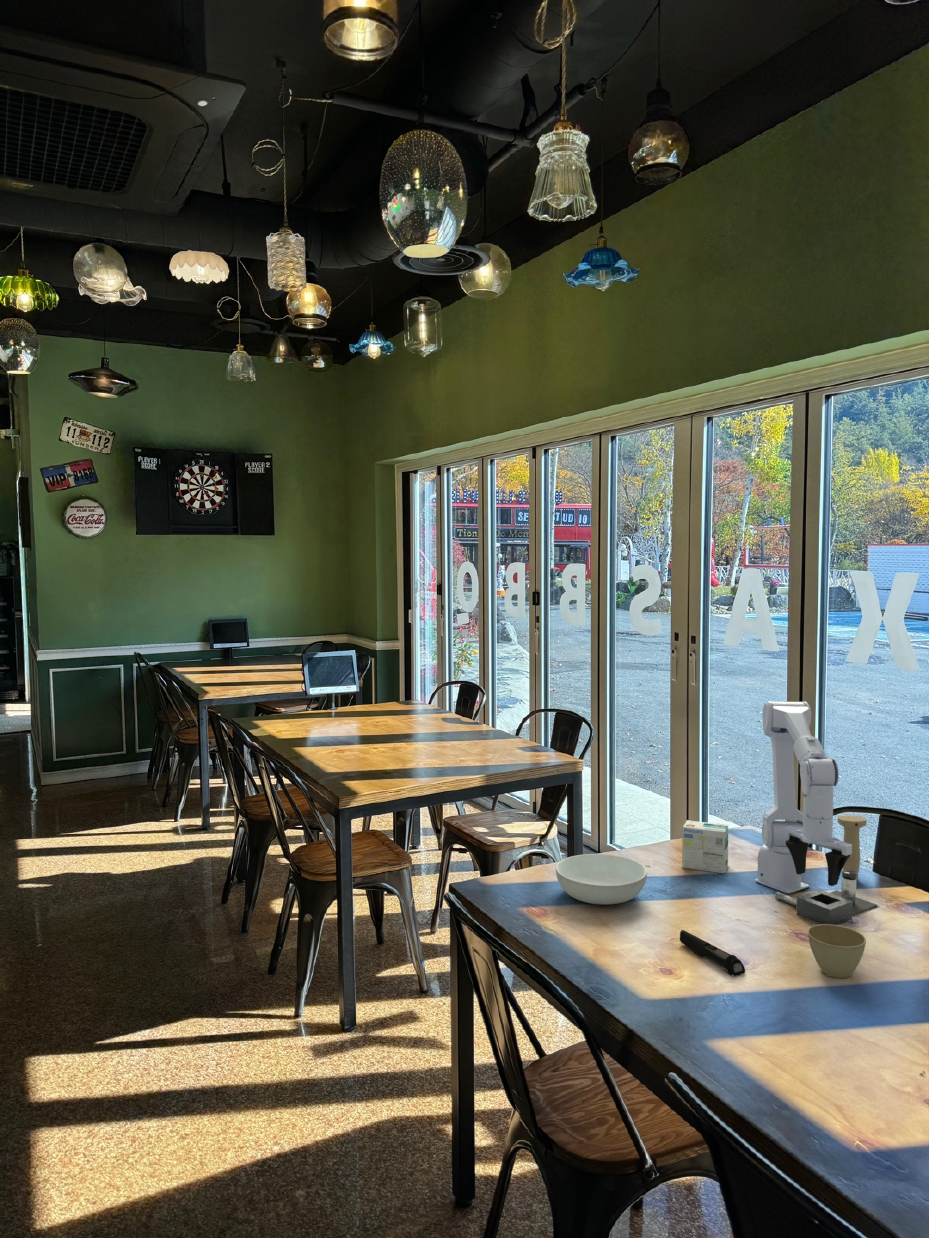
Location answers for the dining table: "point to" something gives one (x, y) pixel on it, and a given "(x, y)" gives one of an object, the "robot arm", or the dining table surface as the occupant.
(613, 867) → the serving bowl
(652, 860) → the dining table surface
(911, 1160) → the dining table surface
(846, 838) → the handle
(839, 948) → the flower pot
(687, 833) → the light bulb box
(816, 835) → the robot arm
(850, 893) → the spice shaker
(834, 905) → the grey hollow block
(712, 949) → the electric trimmer
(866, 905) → the mat
